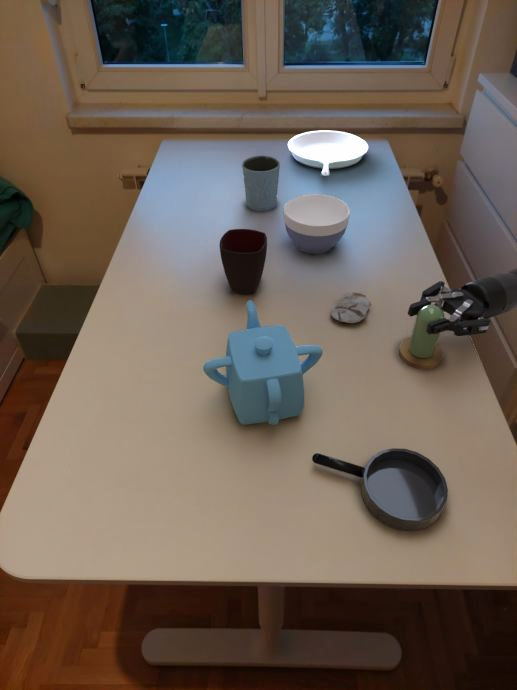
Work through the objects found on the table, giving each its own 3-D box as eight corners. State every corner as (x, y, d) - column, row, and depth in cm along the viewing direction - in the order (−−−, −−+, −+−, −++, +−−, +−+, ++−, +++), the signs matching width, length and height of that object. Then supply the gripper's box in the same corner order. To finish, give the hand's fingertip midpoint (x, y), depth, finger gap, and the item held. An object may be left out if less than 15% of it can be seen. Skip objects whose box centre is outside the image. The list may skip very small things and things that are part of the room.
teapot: (328, 392, 90) (335, 337, 81) (272, 451, 81) (273, 396, 72) (251, 349, 99) (249, 294, 90) (192, 397, 90) (184, 342, 81)
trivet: (443, 346, 99) (444, 342, 98) (438, 373, 94) (440, 369, 93) (402, 336, 101) (403, 332, 101) (395, 362, 96) (396, 359, 95)
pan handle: (367, 472, 77) (369, 466, 76) (365, 481, 76) (366, 475, 74) (313, 455, 79) (314, 449, 78) (310, 464, 78) (311, 458, 77)
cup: (218, 297, 111) (214, 251, 103) (232, 263, 121) (229, 218, 113) (262, 302, 110) (262, 255, 101) (272, 267, 120) (273, 221, 111)
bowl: (358, 251, 124) (363, 216, 118) (301, 267, 119) (304, 232, 113) (325, 222, 135) (328, 188, 128) (271, 236, 130) (272, 202, 123)
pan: (365, 142, 175) (367, 128, 172) (369, 192, 147) (371, 177, 144) (290, 138, 178) (291, 125, 174) (279, 187, 150) (280, 172, 147)
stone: (360, 331, 102) (362, 321, 101) (326, 322, 105) (327, 312, 103) (372, 304, 109) (374, 295, 107) (340, 296, 111) (341, 286, 109)
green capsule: (439, 351, 96) (453, 309, 89) (421, 361, 94) (434, 319, 87) (420, 337, 99) (432, 296, 92) (403, 347, 97) (413, 305, 90)
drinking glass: (280, 197, 146) (281, 156, 137) (276, 214, 138) (277, 172, 130) (246, 195, 147) (245, 154, 138) (240, 211, 139) (239, 170, 131)
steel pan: (446, 472, 78) (451, 461, 76) (437, 542, 70) (443, 532, 68) (370, 450, 81) (372, 439, 79) (353, 514, 73) (355, 504, 71)
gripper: (471, 259, 97) (398, 281, 92) (528, 301, 88) (450, 328, 83) (461, 290, 102) (391, 313, 98) (513, 333, 93) (439, 360, 88)
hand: (419, 320), depth 90 cm, fingers closed on green capsule, 4 cm apart
